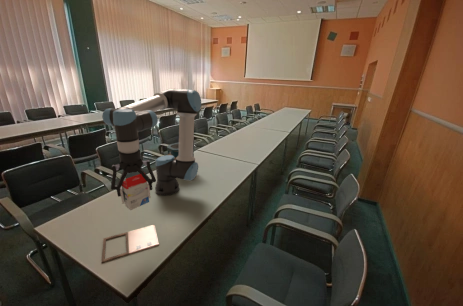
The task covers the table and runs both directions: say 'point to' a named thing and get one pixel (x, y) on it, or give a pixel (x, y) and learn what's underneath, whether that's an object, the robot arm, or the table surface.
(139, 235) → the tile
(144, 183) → the ink box
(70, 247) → the table surface
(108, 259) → the frame
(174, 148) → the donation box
